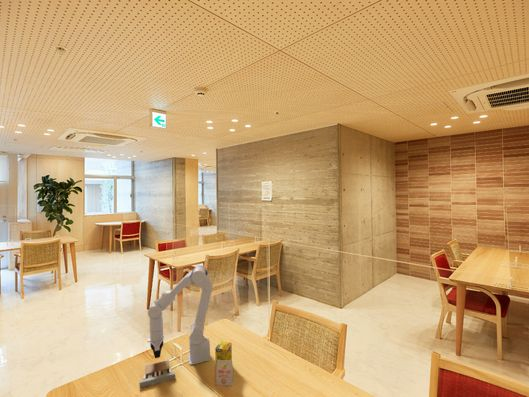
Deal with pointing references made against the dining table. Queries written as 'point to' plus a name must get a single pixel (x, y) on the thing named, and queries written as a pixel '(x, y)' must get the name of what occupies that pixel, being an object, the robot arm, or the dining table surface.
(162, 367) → the brown flat block
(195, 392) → the dining table surface
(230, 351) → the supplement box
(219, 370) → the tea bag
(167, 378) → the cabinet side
